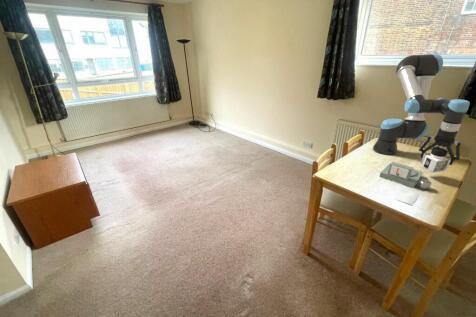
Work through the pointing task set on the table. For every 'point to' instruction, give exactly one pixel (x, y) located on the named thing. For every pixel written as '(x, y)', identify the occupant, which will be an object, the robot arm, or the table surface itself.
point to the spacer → (424, 184)
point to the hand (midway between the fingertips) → (433, 165)
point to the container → (436, 160)
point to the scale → (401, 174)
